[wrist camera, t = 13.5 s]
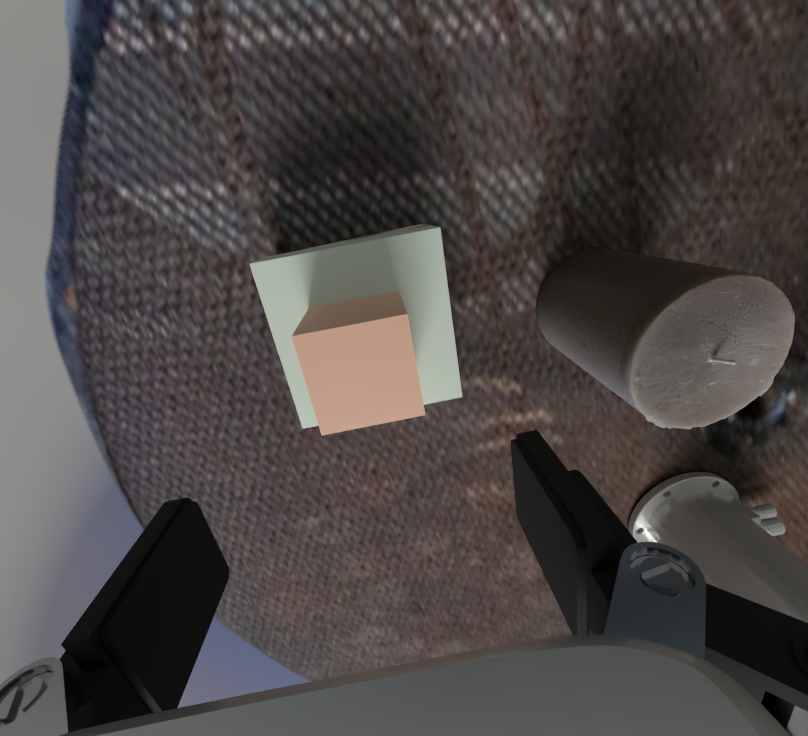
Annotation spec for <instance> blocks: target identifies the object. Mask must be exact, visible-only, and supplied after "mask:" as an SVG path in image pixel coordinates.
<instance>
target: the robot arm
mask: <svg viewBox="0 0 808 736" xmlns="http://www.w3.org/2000/svg"><path fill="white" fill-rule="evenodd" d="M511 453H512V465H513V477H514V489H515V502H516V512H517V516H518V520H519V522H520V525H521V527H522V529H523V531H524V533H525V535H526V537H527V539H528V542H529V544H530V546H531V548H532V550H533V552H534V554H535V556H536V558H537V560H538V563H539V565H540V567H541V569H542V571H543V573H544V575H545V577H546V579H547V581H548V584H549V586H550V588H551V590H552V592H553V594H554V596H555V598H556V600H557V602H558V605H559V607H560V609H561V611H562V613H563V615H564V617H565V619H566V621H567V623H568V626H569V628H570V630H571V632H572V634H573V636H564V637H555V638H547V639H539V640H533V641H527V642H521V643H515V644H510V645H504V646H498V647H492V648H486V649H480V650H474V651H469V652H464V653H458V654H453V655H448V656H443V657H437V658H432V659H427V660H421V661H416V662H411V663H406V664H400V665H395V666H390V667H384V668H379V669H374V670H369V671H364V672H358V673H353V674H348V675H343V676H338V677H333V678H327V679H322V680H317V681H312V682H307V683H302V684H297V685H292V686H287V687H282V688H277V689H271V690H266V691H262V692H256V693H251V694H246V695H241V696H236V697H231V698H226V699H221V700H216V701H211V702H206V703H202V704H197V705H192V706H187V707H182V708H177V707H178V705H179V702H180V699H181V697H182V695H183V692H184V690H185V687H186V684H187V682H188V679H189V677H190V674H191V672H192V669H193V667H194V664H195V662H196V659H197V657H198V654H199V652H200V649H201V647H202V644H203V642H204V639H205V637H206V634H207V631H208V629H209V627H210V624H211V622H212V619H213V617H214V614H215V612H216V609H217V607H218V604H219V602H220V599H221V597H222V594H223V592H224V589H225V587H226V584H227V581H228V578H229V568H228V565H227V563H226V561H225V559H224V557H223V555H222V552H221V550H220V548H219V546H218V544H217V542H216V540H215V538H214V536H213V534H212V532H211V530H210V528H209V526H208V524H207V522H206V520H205V517H204V515H203V513H202V511H201V509H200V507H199V505H198V504H197V503H196V502H194V501H193V502H192V500H191V499H189V498H182V499H177V500H171V501H167V502H165V503H164V504H163V505H162V506H161V508H160V509H159V511H158V512H157V513H156V515H155V516H154V517H153V519H152V520H151V522H150V523H149V524H148V526H147V527H146V528H145V530H144V531H143V533H142V534H141V535H140V537H139V538H138V539H137V541H136V542H135V544H134V545H133V546H132V548H131V549H130V550H129V552H128V553H127V555H126V556H125V557H124V559H123V560H122V561H121V563H120V564H119V566H118V567H117V568H116V570H115V571H114V573H113V574H112V575H111V577H110V578H109V579H108V581H107V582H106V583H105V585H104V586H103V588H102V589H101V590H100V592H99V593H98V595H97V596H96V597H95V599H94V600H93V601H92V603H91V604H90V605H89V607H88V608H87V610H86V611H85V612H84V614H83V615H82V617H81V618H80V619H79V621H78V622H77V623H76V625H75V626H74V627H73V629H72V630H71V632H70V633H69V635H68V636H67V637H66V638H65V640H64V641H63V643H62V644H61V645H62V646H63V647H64V648H65V650H66V651H65V653H64V654H63V656H62V657H61V658H60V659H58V658H55V657H48V658H43V659H40V660H37V661H35V662H32V663H30V664H29V665H27V666H25V667H24V668H22V669H20V670H19V671H17V672H16V673H14V674H13V675H12V676H10V677H9V678H8V679H6V680H5V681H4V682H3V683H2V684H1V685H0V736H808V564H807V563H805V562H804V561H803V560H802V559H800V558H799V557H798V556H797V555H795V554H794V553H793V552H792V551H790V550H789V549H788V548H787V547H785V546H784V545H783V544H782V543H780V542H779V541H778V540H777V539H775V538H774V537H773V536H776V535H781V534H784V533H785V526H784V525H783V523H782V522H781V521H780V520H779V519H778V518H776V515H777V511H776V509H775V508H774V507H773V506H772V505H770V504H765V505H760V506H755V507H753V508H750V507H748V506H746V505H745V504H743V503H742V502H741V501H740V500H739V496H738V493H737V491H736V490H735V488H734V487H733V486H732V485H731V484H730V483H729V482H727V481H726V480H725V479H723V478H722V477H720V476H718V475H715V474H713V473H708V472H690V473H685V474H680V475H677V476H675V477H672V478H669V479H667V480H665V481H663V482H662V483H660V484H658V485H657V486H655V487H654V488H652V489H651V490H650V491H649V492H648V493H647V494H646V495H644V496H643V498H642V499H641V500H640V501H639V502H638V504H637V505H636V507H635V509H634V510H633V512H632V515H631V517H630V520H629V527H628V530H629V531H628V530H627V528H626V527H625V526H624V525H623V524H622V522H621V521H620V520H619V519H618V517H617V516H616V515H615V514H614V512H613V511H612V510H611V509H610V507H609V506H608V505H607V504H606V502H605V501H604V500H603V499H602V498H601V496H600V495H599V494H598V493H597V491H596V490H595V489H594V488H593V486H592V485H591V484H590V483H589V481H588V480H587V479H586V478H585V477H584V475H583V474H582V473H581V472H580V471H578V470H572V471H568V470H567V469H566V467H565V466H564V465H563V464H562V462H561V461H560V460H559V458H558V457H557V456H556V454H555V453H554V452H553V450H552V449H551V448H550V447H549V445H548V444H547V443H546V441H545V440H544V439H543V437H542V436H541V435H540V433H539V432H538V431H537V430H534V431H529V432H523V433H518V434H517V436H516V439H514V440H511Z"/></svg>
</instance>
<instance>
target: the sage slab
mask: <svg viewBox="0 0 808 736" xmlns="http://www.w3.org/2000/svg"><path fill="white" fill-rule="evenodd" d="M250 267H251V270H252V273H253V276H254V280H255V283H256V286H257V289H258V292H259V295H260V298H261V301H262V304H263V307H264V310H265V313H266V317H267V320H268V323H269V326H270V329H271V332H272V335H273V338H274V341H275V344H276V347H277V350H278V354H279V357H280V360H281V363H282V366H283V369H284V372H285V375H286V378H287V381H288V384H289V387H290V391H291V394H292V397H293V400H294V403H295V406H296V409H297V412H298V415H299V418H300V421H301V424H302V428H308V427H313V426H318V422H317V418H316V415H315V412H314V409H313V405H312V402H311V399H310V395H309V392H308V389H307V386H306V382H305V379H304V376H303V372H302V369H301V366H300V363H299V359H298V356H297V353H296V349H295V346H294V343H293V340H292V335H293V333H294V331H295V330H296V328H297V326H298V325H299V323H300V322H301V320H302V318H303V317H304V315H305V313H306V312H307V310H308V308H313V307H318V306H324V305H329V304H334V303H339V302H344V301H350V300H355V299H360V298H365V297H371V296H376V295H381V294H386V293H391V292H397V291H399V292H400V295H401V298H402V300H403V303H404V305H405V308H406V311H407V313H408V318H409V324H410V330H411V335H412V341H413V347H414V353H415V358H416V364H417V370H418V375H419V381H420V387H421V393H422V398H423V404H429V403H435V402H440V401H445V400H450V399H455V398H460V397H462V391H461V384H460V376H459V368H458V360H457V353H456V345H455V337H454V329H453V322H452V314H451V306H450V298H449V291H448V283H447V275H446V268H445V260H444V252H443V244H442V237H441V229H440V227H436V226H431V225H430V226H425V227H419V228H414V229H409V230H404V231H398V232H393V233H388V234H383V235H377V236H372V237H367V238H362V239H357V240H351V241H346V242H341V243H336V244H330V245H325V246H320V247H315V248H309V249H304V250H299V251H294V252H288V253H283V254H278V255H273V256H267V257H264V258H262V259H259V260H257V261H255V262H253V263H250Z"/></svg>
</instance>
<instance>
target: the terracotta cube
mask: <svg viewBox="0 0 808 736" xmlns="http://www.w3.org/2000/svg"><path fill="white" fill-rule="evenodd" d="M292 340H293V343H294V346H295V349H296V353H297V356H298V359H299V363H300V366H301V369H302V372H303V376H304V379H305V382H306V386H307V389H308V392H309V395H310V399H311V402H312V405H313V409H314V412H315V415H316V418H317V422H318V425H319V428H320V432H321V435H327V434H332V433H337V432H342V431H347V430H352V429H357V428H362V427H367V426H372V425H377V424H383V423H388V422H393V421H398V420H403V419H408V418H413V417H418V416H423V415H425V410H424V404H423V398H422V393H421V387H420V381H419V375H418V370H417V364H416V358H415V353H414V347H413V341H412V335H411V330H410V324H409V318H408V313H407V311H406V308H405V305H404V303H403V300H402V298H401V295H400V292H399V291H397V292H391V293H386V294H381V295H376V296H371V297H365V298H360V299H355V300H350V301H344V302H339V303H334V304H329V305H324V306H318V307H313V308H308V310H307V312H306V313H305V315H304V317H303V318H302V320H301V322H300V323H299V325H298V326H297V328H296V330H295V331H294V333H293V335H292Z"/></svg>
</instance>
